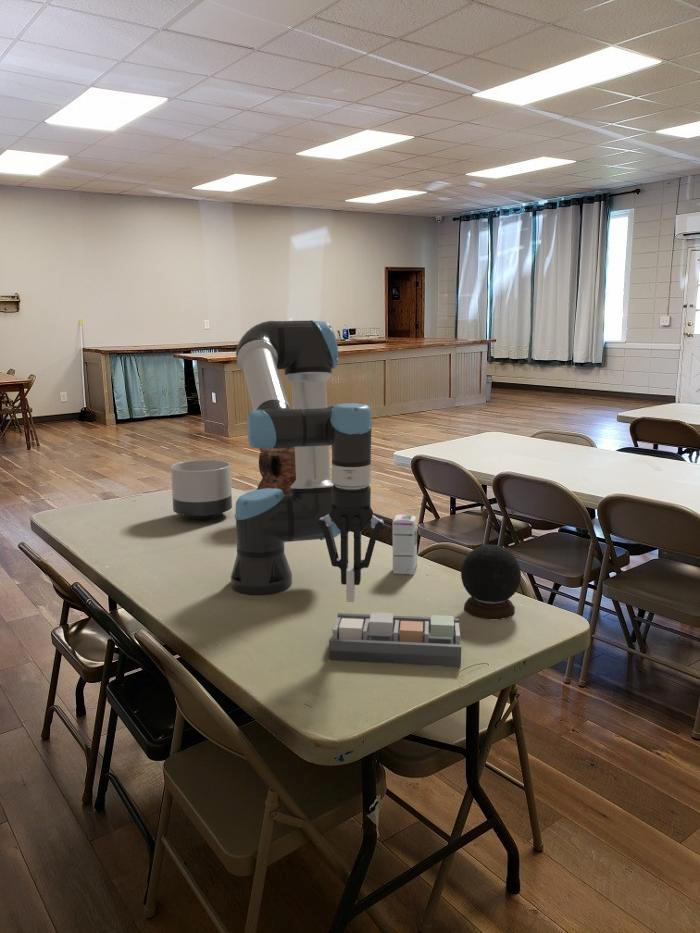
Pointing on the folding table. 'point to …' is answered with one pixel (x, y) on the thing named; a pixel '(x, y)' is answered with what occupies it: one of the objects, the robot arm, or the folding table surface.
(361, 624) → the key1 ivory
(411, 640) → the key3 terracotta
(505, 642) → the folding table surface
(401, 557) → the syrup box
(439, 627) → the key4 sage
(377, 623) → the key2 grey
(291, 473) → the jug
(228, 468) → the planter
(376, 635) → the keypad board
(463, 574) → the black ball on stand
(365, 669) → the folding table surface
